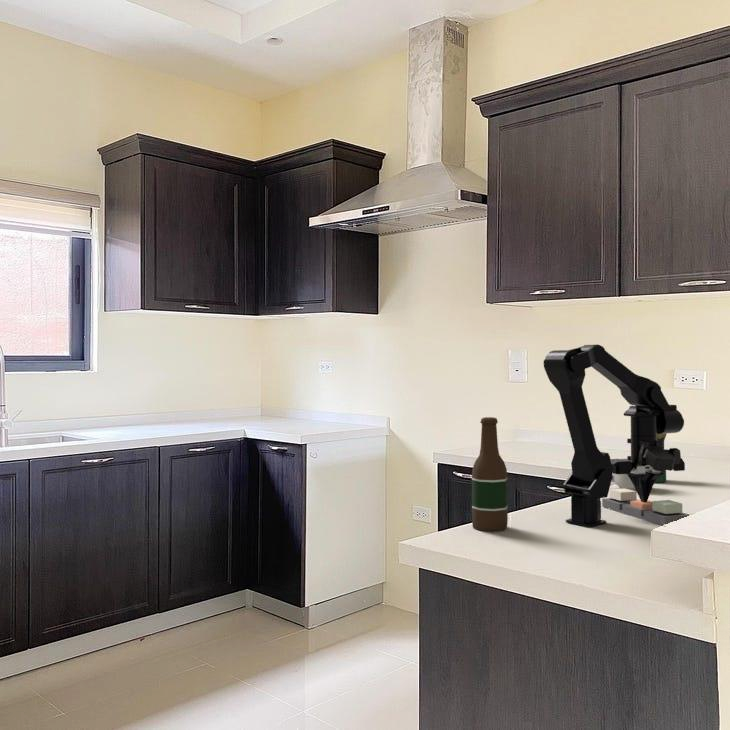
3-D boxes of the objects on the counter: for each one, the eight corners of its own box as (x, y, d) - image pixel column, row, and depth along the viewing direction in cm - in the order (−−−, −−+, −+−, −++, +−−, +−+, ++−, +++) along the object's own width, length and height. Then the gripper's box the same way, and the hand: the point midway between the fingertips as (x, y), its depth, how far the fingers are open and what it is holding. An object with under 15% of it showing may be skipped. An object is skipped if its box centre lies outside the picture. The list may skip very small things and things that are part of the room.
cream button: (636, 499, 180) (636, 491, 180) (620, 500, 178) (620, 492, 178) (625, 496, 184) (625, 488, 184) (609, 497, 183) (609, 489, 183)
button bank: (691, 524, 163) (691, 515, 163) (664, 526, 161) (664, 517, 161) (626, 504, 186) (626, 496, 186) (602, 506, 184) (602, 498, 184)
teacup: (656, 488, 209) (656, 459, 209) (650, 494, 200) (649, 464, 200) (606, 484, 216) (605, 456, 216) (597, 490, 207) (597, 461, 207)
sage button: (682, 512, 164) (682, 503, 164) (665, 513, 163) (665, 504, 163) (668, 508, 169) (668, 499, 169) (652, 510, 167) (652, 501, 167)
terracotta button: (658, 511, 172) (658, 503, 172) (642, 512, 171) (642, 504, 171) (646, 508, 176) (646, 499, 176) (630, 509, 175) (630, 500, 175)
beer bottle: (503, 523, 166) (502, 416, 165) (511, 531, 158) (510, 418, 158) (469, 524, 165) (468, 416, 165) (475, 532, 157) (474, 419, 157)
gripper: (631, 440, 163) (631, 511, 163) (701, 437, 168) (702, 505, 168) (601, 435, 174) (601, 502, 174) (668, 432, 179) (668, 497, 179)
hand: (644, 501), depth 173 cm, fingers closed, pressing on terracotta button
